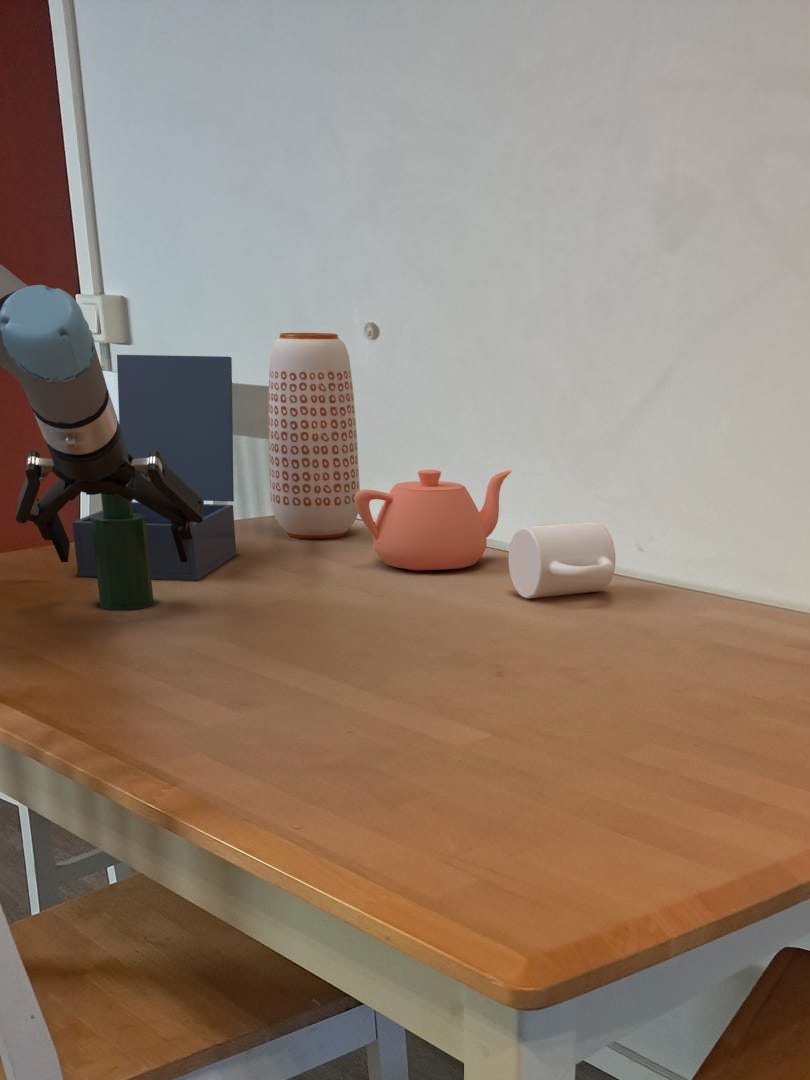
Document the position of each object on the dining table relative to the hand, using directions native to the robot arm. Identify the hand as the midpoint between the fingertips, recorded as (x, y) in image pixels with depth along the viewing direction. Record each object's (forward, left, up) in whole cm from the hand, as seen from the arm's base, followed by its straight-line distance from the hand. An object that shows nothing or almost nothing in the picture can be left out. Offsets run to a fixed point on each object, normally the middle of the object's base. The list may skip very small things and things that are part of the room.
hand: (125, 552), depth 147 cm
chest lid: (-4, +32, +11) cm, 34 cm away
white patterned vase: (+11, +49, -6) cm, 50 cm away
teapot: (+32, +29, -6) cm, 43 cm away
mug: (+51, +11, -6) cm, 53 cm away
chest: (-4, +22, -6) cm, 23 cm away
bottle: (0, -1, -6) cm, 6 cm away
